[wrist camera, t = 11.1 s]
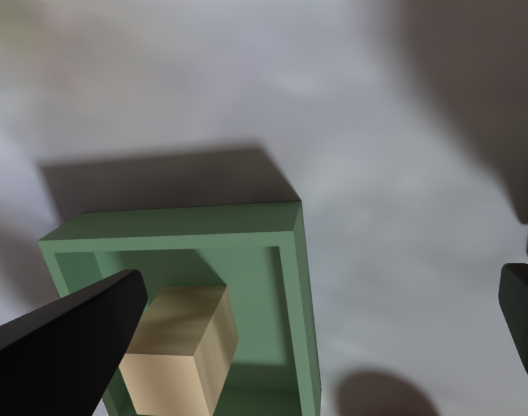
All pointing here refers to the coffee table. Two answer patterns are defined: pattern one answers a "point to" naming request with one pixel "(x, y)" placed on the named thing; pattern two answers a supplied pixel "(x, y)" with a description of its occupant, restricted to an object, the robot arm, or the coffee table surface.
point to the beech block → (181, 352)
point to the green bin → (212, 274)
